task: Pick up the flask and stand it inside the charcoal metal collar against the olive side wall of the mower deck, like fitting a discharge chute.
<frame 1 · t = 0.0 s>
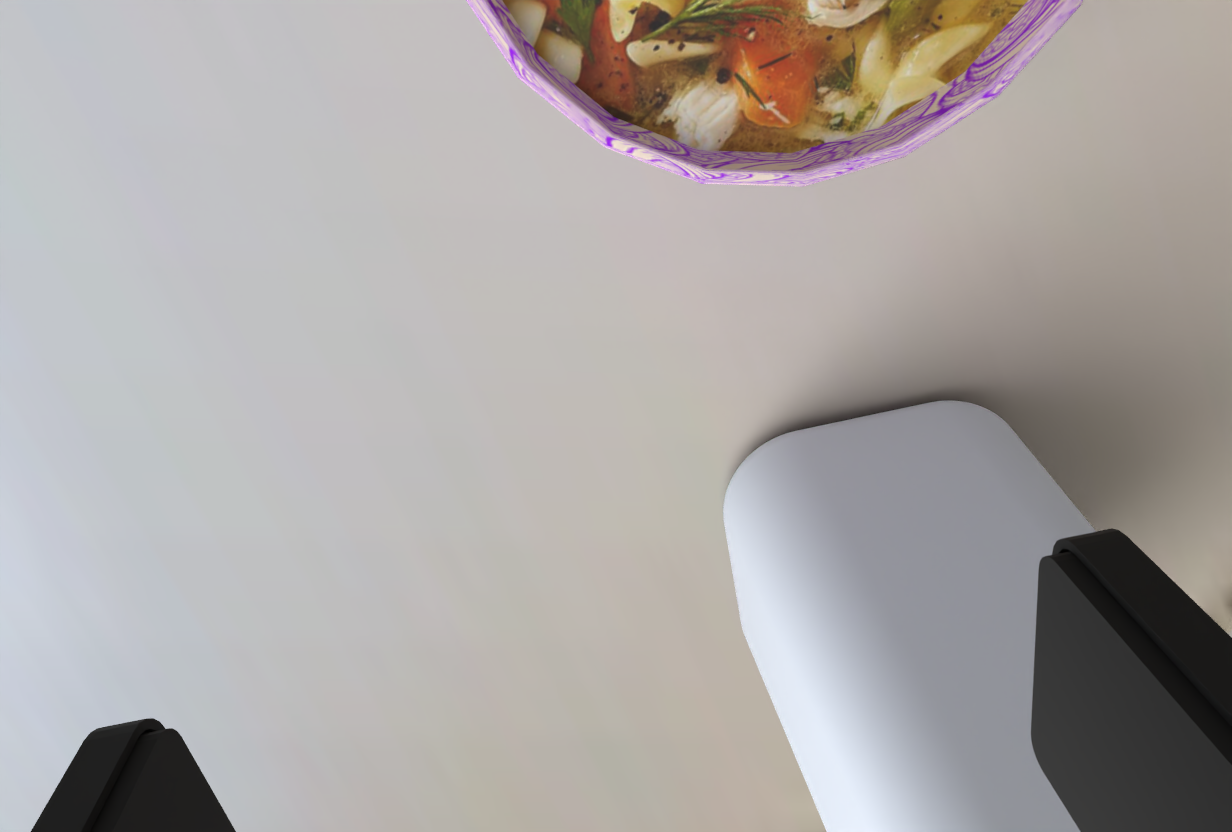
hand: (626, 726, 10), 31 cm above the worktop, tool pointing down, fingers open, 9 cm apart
plastic bottle: (865, 527, 48), on the worktop
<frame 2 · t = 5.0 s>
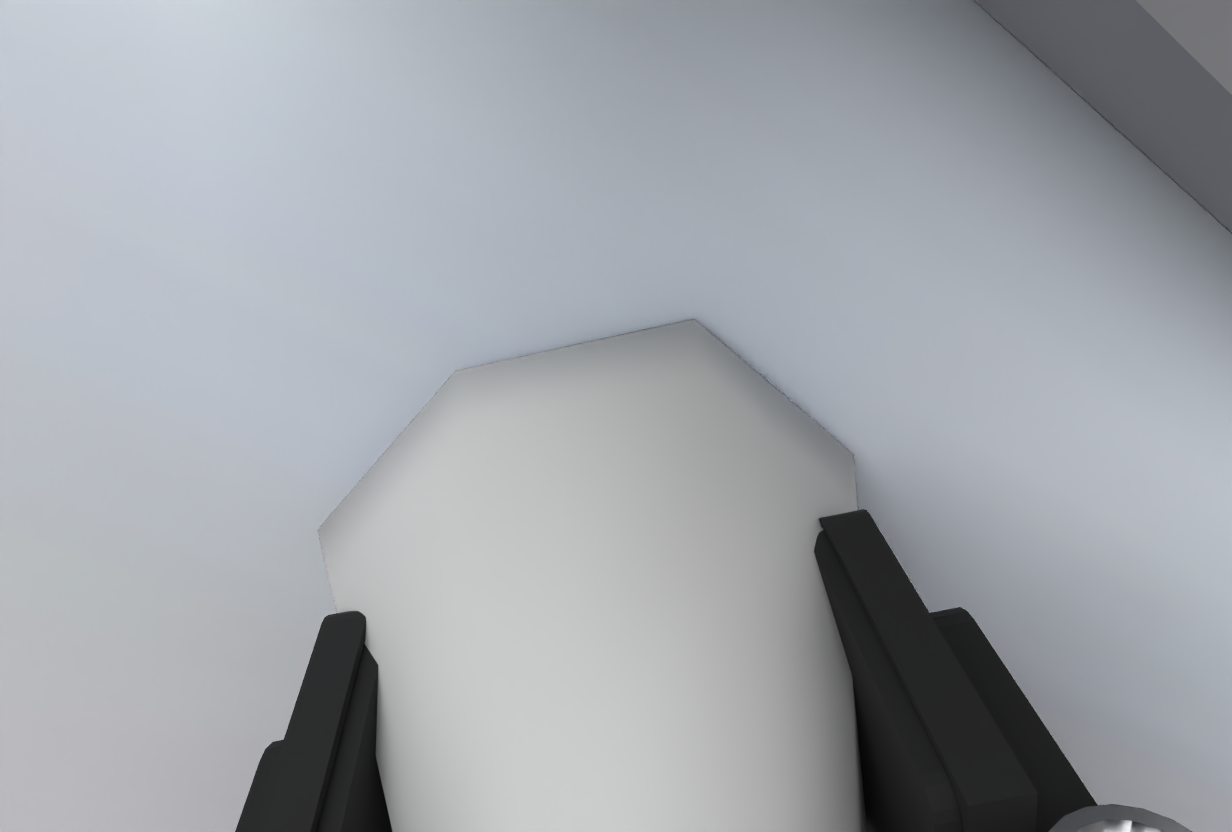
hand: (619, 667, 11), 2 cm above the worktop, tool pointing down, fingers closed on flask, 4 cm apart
flask: (606, 558, 12), on the worktop, touching gripper
when the fingers open (3 cm above the worktop, at t = 11.3 s): flask drops 1 cm, resting in mower deck.
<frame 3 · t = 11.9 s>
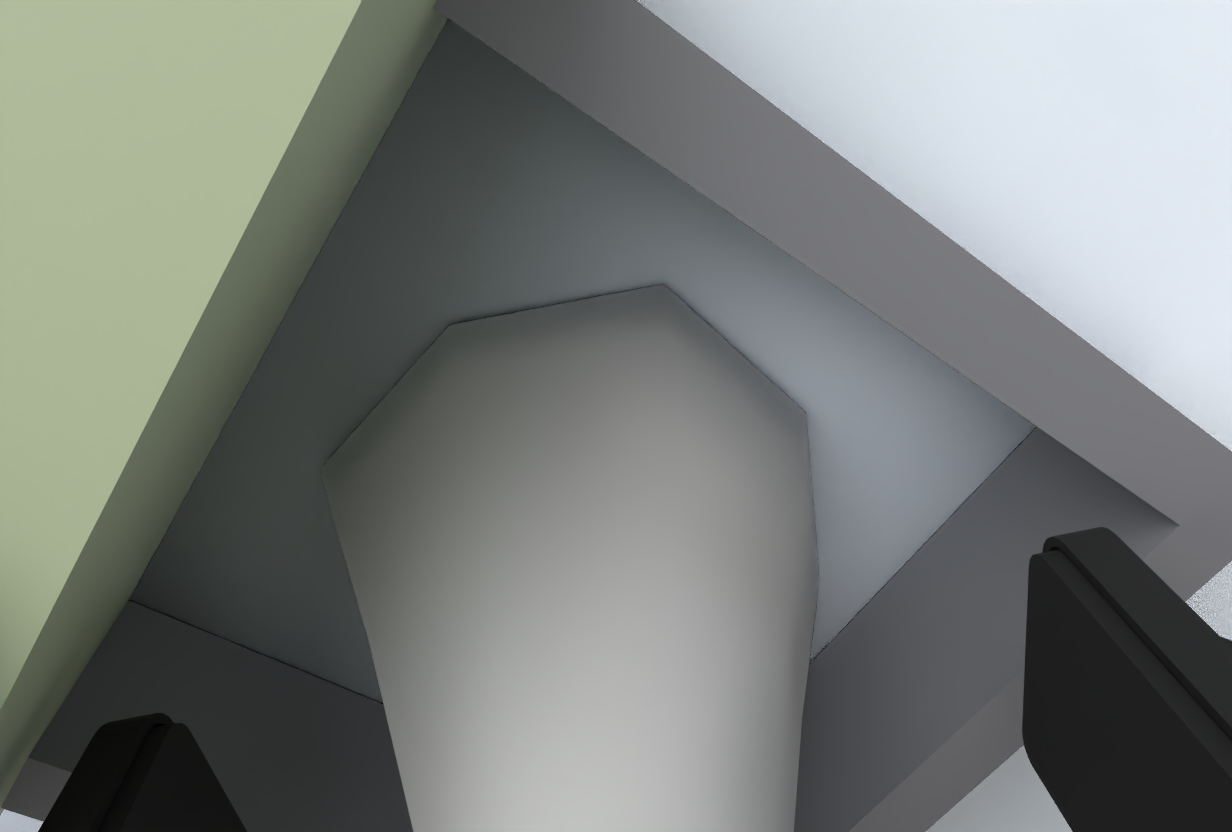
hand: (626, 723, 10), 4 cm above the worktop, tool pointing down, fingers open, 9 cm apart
flask: (582, 505, 14), resting in mower deck
mower deck: (585, 507, 13), on the worktop
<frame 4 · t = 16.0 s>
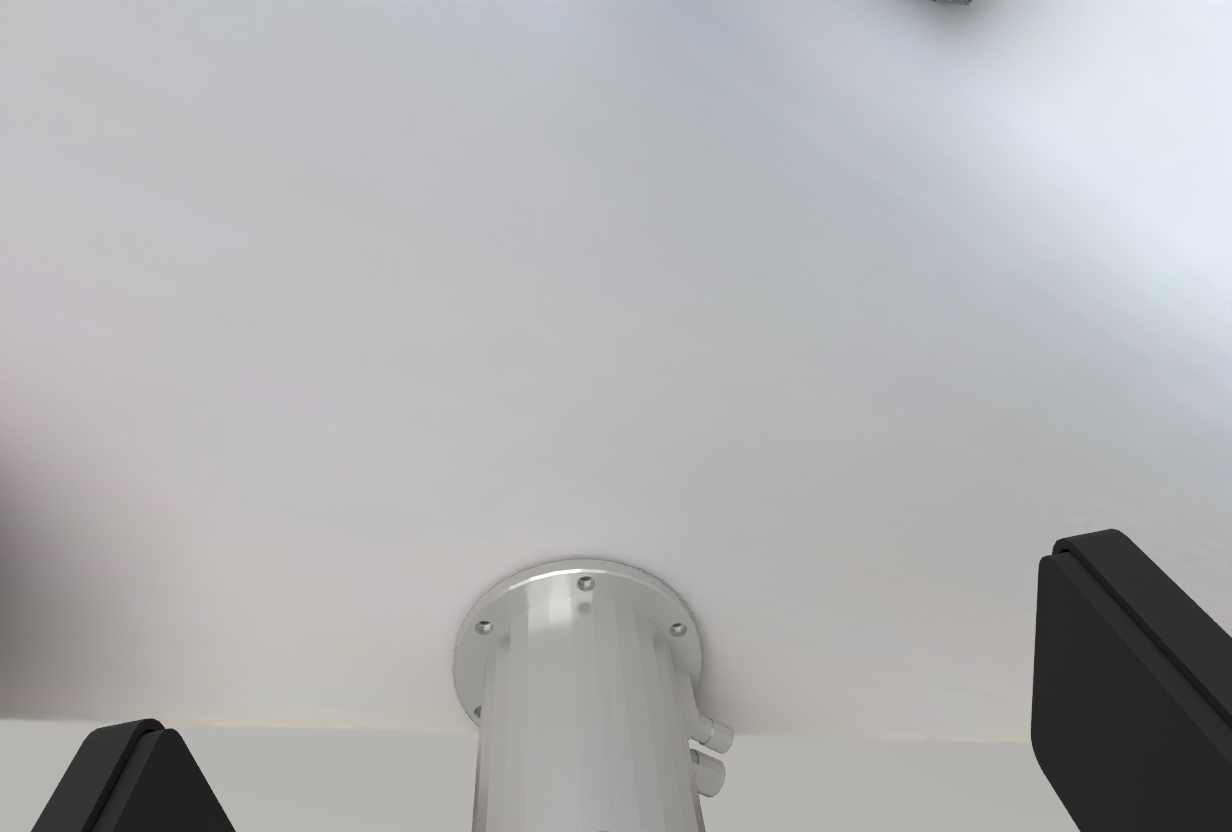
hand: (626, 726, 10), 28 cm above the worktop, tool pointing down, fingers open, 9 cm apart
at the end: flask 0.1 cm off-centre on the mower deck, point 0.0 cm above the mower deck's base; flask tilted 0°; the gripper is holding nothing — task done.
